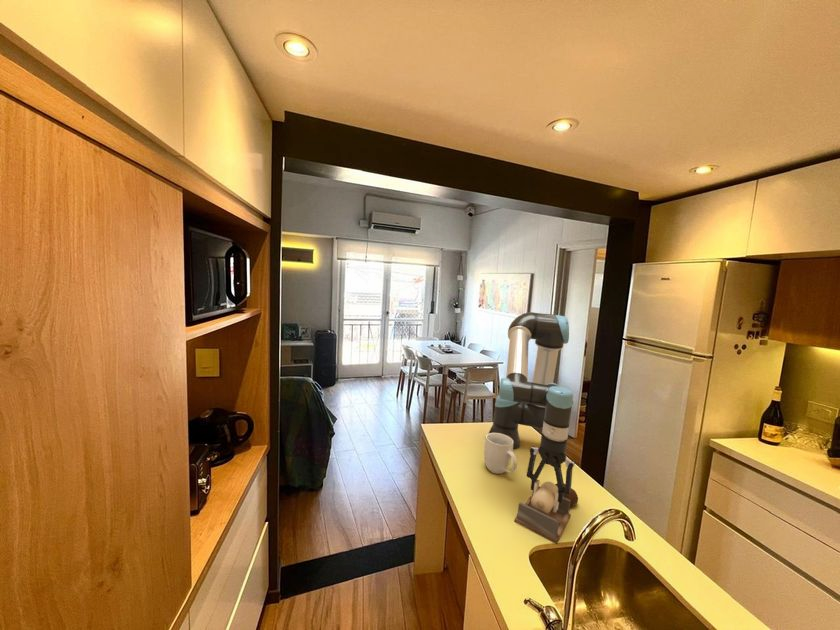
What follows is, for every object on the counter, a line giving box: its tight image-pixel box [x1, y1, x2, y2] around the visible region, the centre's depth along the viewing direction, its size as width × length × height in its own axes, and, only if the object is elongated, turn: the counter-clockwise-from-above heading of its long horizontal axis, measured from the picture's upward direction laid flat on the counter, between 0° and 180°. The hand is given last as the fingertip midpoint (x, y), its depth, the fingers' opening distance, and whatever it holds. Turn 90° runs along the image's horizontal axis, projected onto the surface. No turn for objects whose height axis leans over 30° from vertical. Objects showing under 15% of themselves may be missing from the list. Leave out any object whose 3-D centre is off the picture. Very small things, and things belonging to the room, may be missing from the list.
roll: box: [531, 481, 558, 514], centre depth 108 cm, size 10×6×6 cm, turn 142°
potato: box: [554, 483, 579, 507], centre depth 118 cm, size 7×10×7 cm
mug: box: [483, 432, 518, 475], centre depth 134 cm, size 15×11×13 cm
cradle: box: [514, 486, 572, 544], centre depth 108 cm, size 16×13×6 cm
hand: (544, 504), depth 108 cm, fingers closed on roll, 6 cm apart
